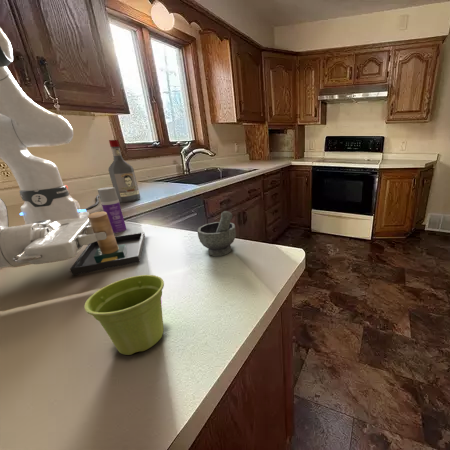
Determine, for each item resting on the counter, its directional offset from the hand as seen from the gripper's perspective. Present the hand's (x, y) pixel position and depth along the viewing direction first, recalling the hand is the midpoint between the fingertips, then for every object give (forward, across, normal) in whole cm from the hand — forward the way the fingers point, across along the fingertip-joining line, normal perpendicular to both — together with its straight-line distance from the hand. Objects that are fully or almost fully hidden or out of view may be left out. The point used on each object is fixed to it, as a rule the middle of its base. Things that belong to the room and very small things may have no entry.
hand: (108, 231), depth 60 cm
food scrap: (-1, -3, +8) cm, 8 cm away
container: (-3, +26, +8) cm, 27 cm away
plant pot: (+7, -34, +8) cm, 36 cm away
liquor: (-5, +82, +9) cm, 83 cm away
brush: (-1, +1, +7) cm, 7 cm away
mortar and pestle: (+24, -9, +9) cm, 27 cm away
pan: (-1, +5, +8) cm, 10 cm away
